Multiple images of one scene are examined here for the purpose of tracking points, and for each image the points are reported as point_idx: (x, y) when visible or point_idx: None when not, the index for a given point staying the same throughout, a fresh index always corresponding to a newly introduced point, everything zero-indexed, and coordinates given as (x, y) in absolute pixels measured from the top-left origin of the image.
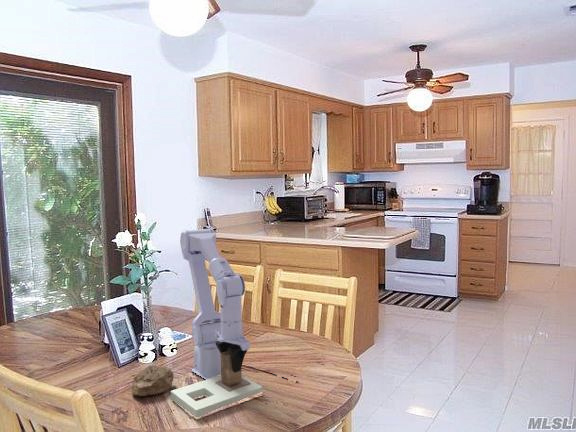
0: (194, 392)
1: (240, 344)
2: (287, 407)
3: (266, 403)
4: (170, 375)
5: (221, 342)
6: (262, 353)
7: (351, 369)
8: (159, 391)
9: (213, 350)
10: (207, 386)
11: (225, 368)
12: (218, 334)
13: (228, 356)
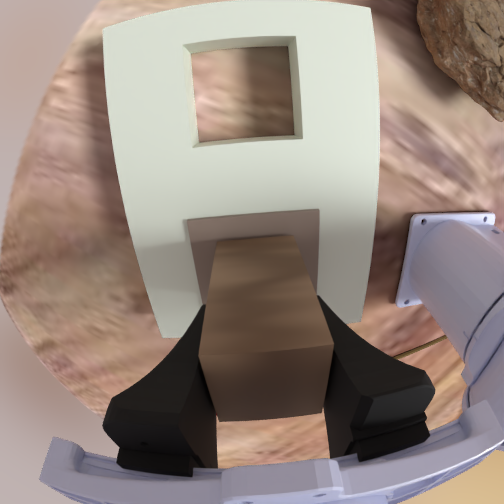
0: (298, 82)
1: (68, 476)
2: (76, 324)
3: (114, 298)
4: (483, 88)
5: (383, 420)
6: None
7: None
8: (420, 11)
9: (473, 318)
10: (308, 160)
11: (249, 284)
12: (434, 470)
13: (210, 361)
